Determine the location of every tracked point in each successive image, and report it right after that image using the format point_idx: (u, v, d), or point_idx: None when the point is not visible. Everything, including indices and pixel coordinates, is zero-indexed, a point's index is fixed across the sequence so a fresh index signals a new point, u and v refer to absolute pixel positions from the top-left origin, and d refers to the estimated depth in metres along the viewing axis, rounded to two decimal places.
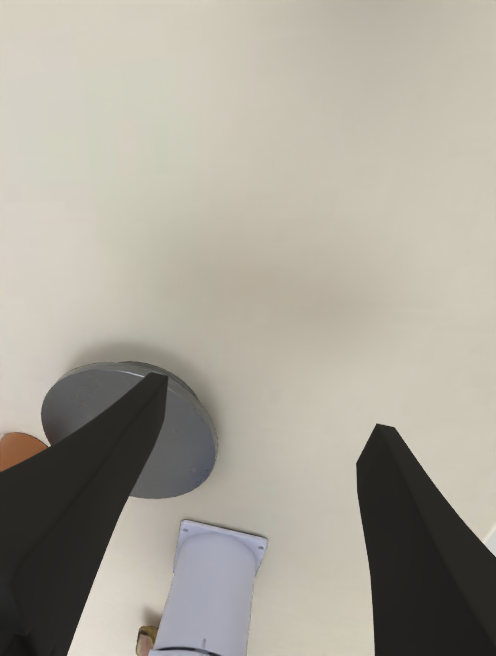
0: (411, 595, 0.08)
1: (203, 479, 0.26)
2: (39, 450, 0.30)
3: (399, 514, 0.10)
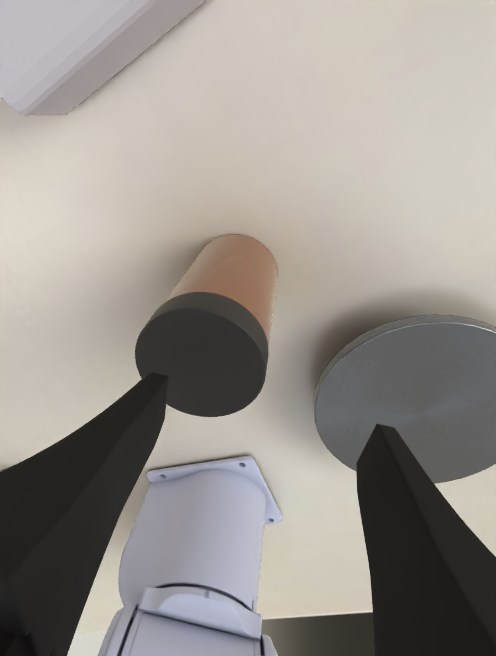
0: (411, 595, 0.08)
1: None
2: None
3: (399, 514, 0.10)
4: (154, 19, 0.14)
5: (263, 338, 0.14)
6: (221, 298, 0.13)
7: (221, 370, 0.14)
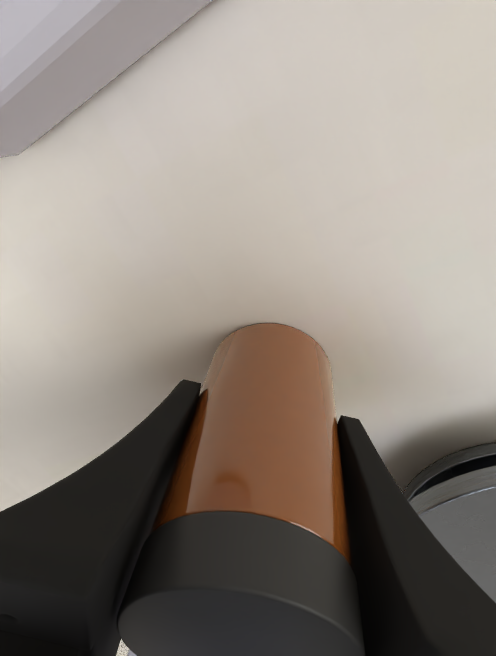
0: (360, 583, 0.08)
1: None
2: None
3: (354, 504, 0.10)
4: (159, 0, 0.07)
5: (356, 597, 0.07)
6: (282, 533, 0.07)
7: None
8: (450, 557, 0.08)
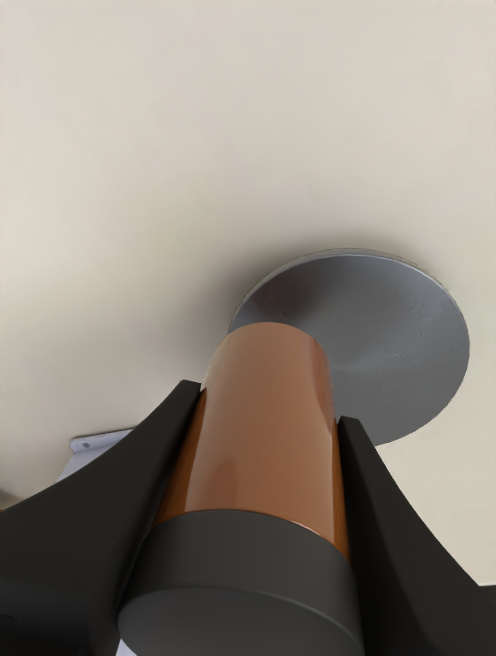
0: (360, 583, 0.08)
1: None
2: None
3: (354, 504, 0.10)
4: None
5: (356, 596, 0.07)
6: (281, 532, 0.07)
7: None
8: (450, 557, 0.08)
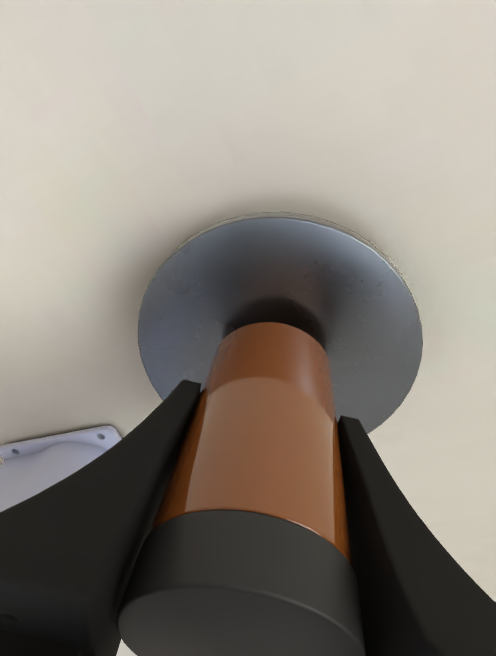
0: (359, 583, 0.08)
1: None
2: None
3: (354, 504, 0.10)
4: None
5: (357, 596, 0.07)
6: (282, 532, 0.07)
7: None
8: (450, 557, 0.08)
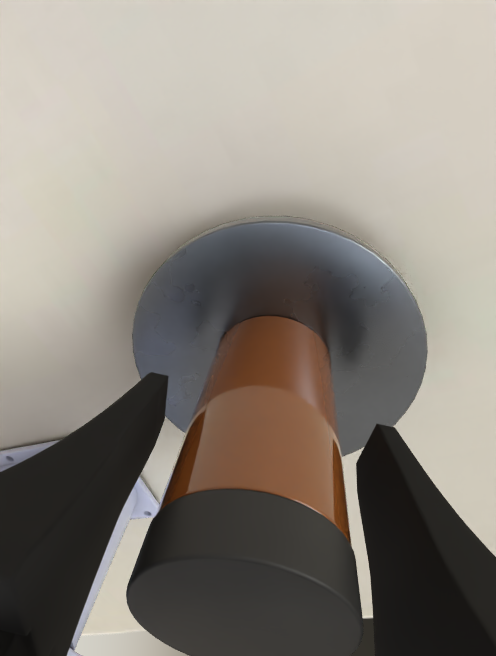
0: (411, 595, 0.08)
1: None
2: None
3: (399, 514, 0.10)
4: None
5: (355, 570, 0.08)
6: (284, 509, 0.07)
7: (280, 631, 0.08)
8: None
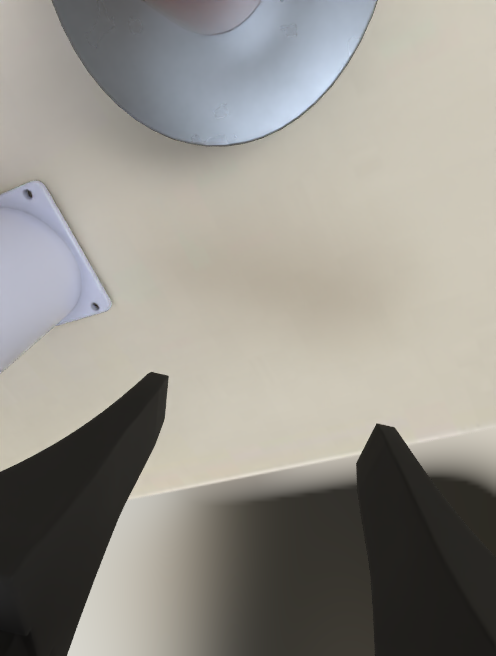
0: (411, 595, 0.08)
1: (211, 142, 0.15)
2: None
3: (399, 514, 0.10)
4: None
5: None
6: None
7: None
8: None
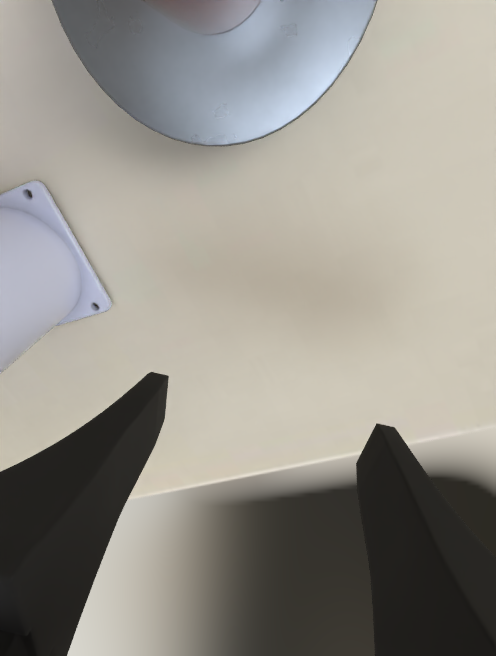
0: (411, 595, 0.08)
1: (211, 141, 0.15)
2: None
3: (399, 514, 0.10)
4: None
5: None
6: None
7: None
8: None
